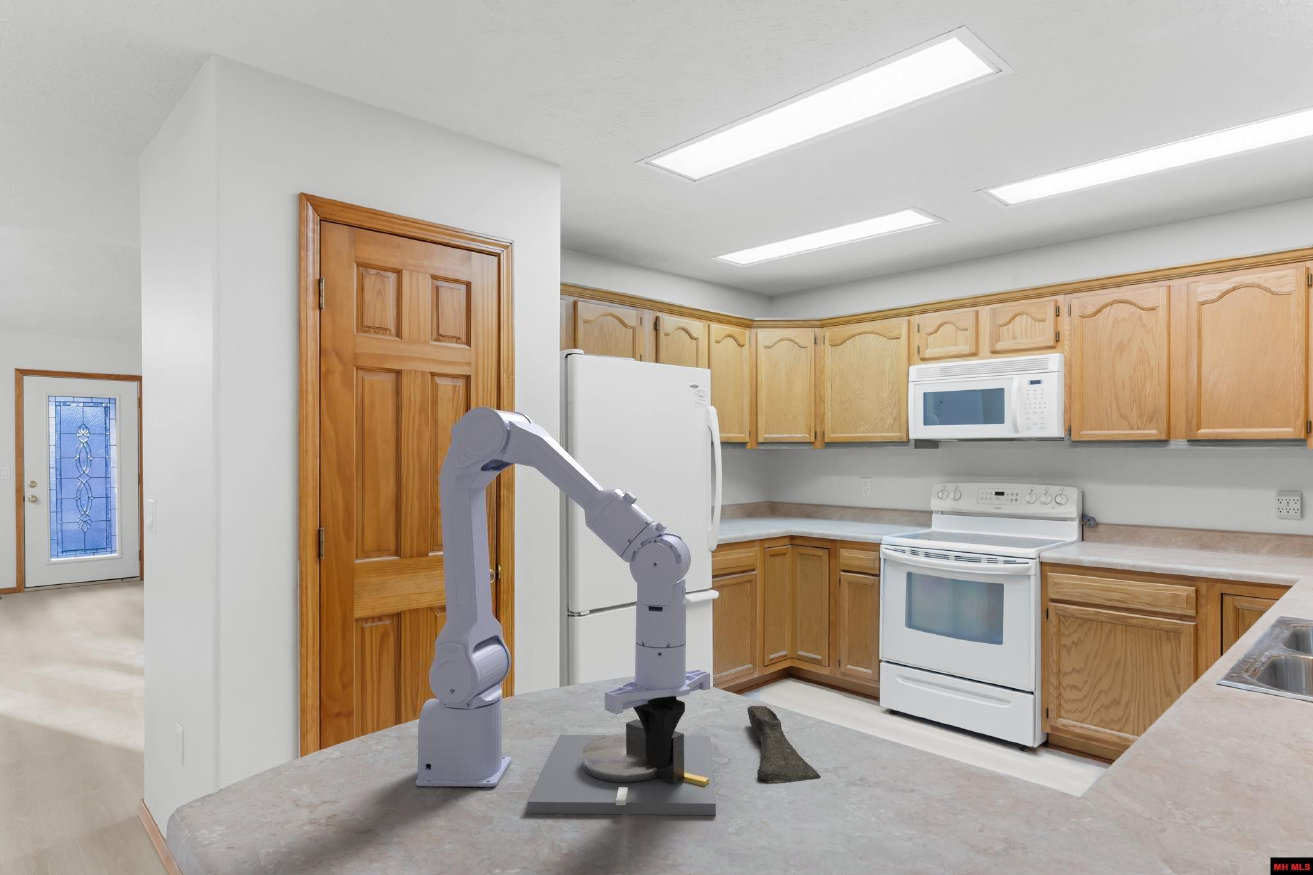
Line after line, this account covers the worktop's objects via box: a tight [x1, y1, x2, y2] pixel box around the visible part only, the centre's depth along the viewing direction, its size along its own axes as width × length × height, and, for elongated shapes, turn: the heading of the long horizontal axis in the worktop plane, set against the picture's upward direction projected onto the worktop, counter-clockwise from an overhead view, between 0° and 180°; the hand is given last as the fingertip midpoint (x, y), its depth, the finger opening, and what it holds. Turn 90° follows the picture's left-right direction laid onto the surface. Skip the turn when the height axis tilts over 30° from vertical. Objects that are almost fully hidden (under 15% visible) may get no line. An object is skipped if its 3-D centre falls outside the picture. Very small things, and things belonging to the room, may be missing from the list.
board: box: [527, 734, 717, 816], centre depth 89 cm, size 20×21×2 cm
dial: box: [582, 718, 685, 784], centre depth 88 cm, size 14×11×5 cm
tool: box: [746, 705, 822, 784], centre depth 97 cm, size 21×8×3 cm, turn 5°
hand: (659, 764), depth 84 cm, fingers closed, pressing on dial
